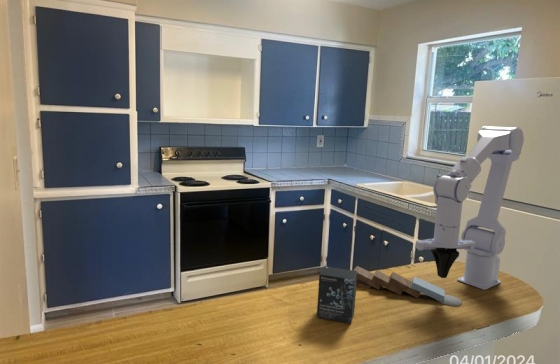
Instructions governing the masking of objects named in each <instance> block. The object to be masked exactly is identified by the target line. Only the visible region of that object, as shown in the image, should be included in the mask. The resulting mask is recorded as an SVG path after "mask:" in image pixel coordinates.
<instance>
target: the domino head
mask: <svg viewBox="0 0 560 364" xmlns="http://www.w3.org/2000/svg"><path fill="white" fill-rule="evenodd" d="M411 281H412V284H411V288H412V289H414V290H417V291H419V292H421V293H422V294H424V295H425V296H427V297H430V298H433V299H435V300H436V301H437V300H439V301H441V302H442V301H443V299H444V297H445V295H446V294H445V289H443V288H441V287H440V286H437V285H434V284H432V283H430V282H427V280H423V279H421V278H418V277H416V276H413V278H412V279H411ZM421 293H420V294H421ZM439 301H438V302H439Z"/></svg>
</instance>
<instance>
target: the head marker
mask: <svg viewBox="0 0 560 364" xmlns="http://www.w3.org/2000/svg"><path fill="white" fill-rule="evenodd" d="M436 301H437V302H438V303H441V304H443V305H445V306H450V307H459V306H461V305H462V304H463V301H462V300H461V299H460V298H458V297H456V296H453V295H450V294H445V297H444V299H443V301H442V302H441V301H439V300H436Z"/></svg>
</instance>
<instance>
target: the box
mask: <svg viewBox="0 0 560 364" xmlns="http://www.w3.org/2000/svg"><path fill="white" fill-rule="evenodd" d="M356 284H357V271H354V269H353V270H351V269H347V268H346V269H344V268H338V267H330V266H328V265H327V266H326V265H324V266H323V267H322V269H321V271H320V273H319V274H318V289H317V290H318V291H317V305H316V306H317V307H316V318H317V319H318V318H319V319H324V320H328V321H334V322H340V323H344V324H348V325H351V324H352V321H353V318H354V314H355V308H356V306H355V304H356V297H357V286H356Z"/></svg>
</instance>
